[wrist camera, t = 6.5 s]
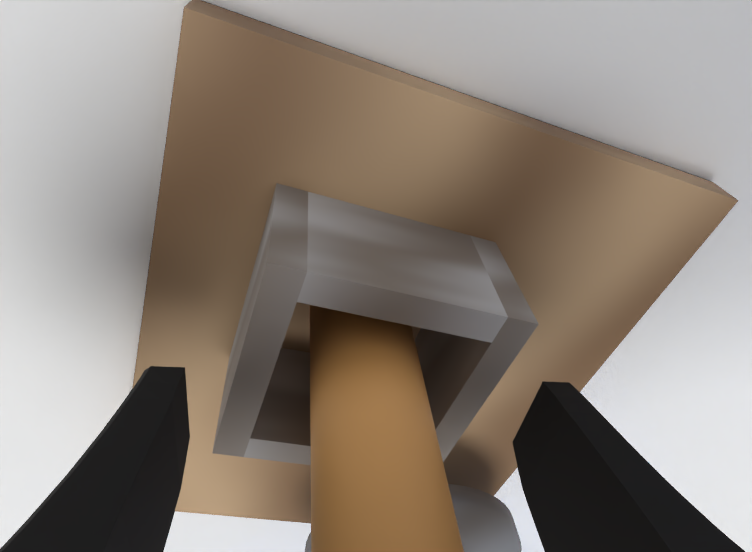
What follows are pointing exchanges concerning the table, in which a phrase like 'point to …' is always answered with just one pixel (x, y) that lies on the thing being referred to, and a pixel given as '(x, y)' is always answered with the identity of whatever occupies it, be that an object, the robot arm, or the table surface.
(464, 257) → the wooden board with socket
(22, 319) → the table surface
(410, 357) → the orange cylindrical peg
